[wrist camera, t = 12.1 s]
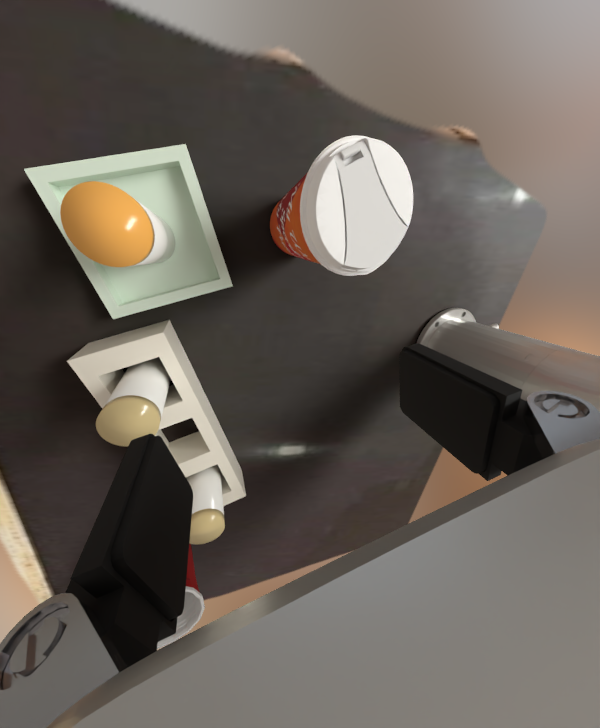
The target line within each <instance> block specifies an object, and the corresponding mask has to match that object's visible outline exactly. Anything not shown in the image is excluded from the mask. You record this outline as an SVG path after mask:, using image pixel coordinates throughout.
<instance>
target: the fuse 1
mask: <svg viewBox="0 0 600 728" xmlns="http://www.w3.org/2000/svg"><path fill="white" fill-rule="evenodd" d="M170 381H171V378H170V376H169V374H168V372H167V370H166V369H165V367H164V365H163V363H162V361H161V359H160V358H159V357H157V358H154V359H151V360H148V361H145V362H141V363H138V364H135V365H132V366H129V367H128V369H127V371H126V372H125V374H124V375H123V377H122V379H121V380H120V382H119V383H118V385H117V387H116V388H115V390H114V391H113V393H112V395H111V396H110V398H109V399H108V401H107V403H106V404H105V406H104V407H103V409H102V411H101V412H100V414H99V415H98V417H97V420H96V428H97V431H98V433H99V435H100V436H101V437H102V438H103V439H105V440H106V441H108V442H110V443H112V444H115V445H118V446H129V444H130V442H131V440H133V439H136V438H139V437H142V436H145V435H148V434H153V435H154V436H155V435H156V433H157V431H158V429H159V425H160V421H161V417H162V413H163V409H164V405H165V401H166V397H167V393H168V389H169V385H170Z"/></svg>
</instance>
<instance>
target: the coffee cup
mask: <svg viewBox="0 0 600 728" xmlns="http://www.w3.org/2000/svg"><path fill="white" fill-rule="evenodd" d="M412 209H413V188H412V182H411V178H410V174H409V172H408V169H407V166H406V165H405V163H404V161H403V159H402V158H401V156H400V155H399V154H398V153H397V151H395V150H394V149H393V148H392V147H391V146H390V145H388V144H386V143H385V142H383V141H380V140H377V139H373V138H369V137H365V136H355V135H354V136H348V137H344V138H342V139H339V140H337V141H335V142H333V143H332V144H330V145H329V146H328V147H326V148H325V149H324V150H323V151H322V152H321V153H320V154H319V155H318V157H317V158H316V160H315V161H314V162H313V164H312V166H311V168H310V170H309V171H308V172H307V173H306V175H305V176H304V177H303V178H302V179H301V180H300V181H299V182H298V183H297V184H296V185H295V186H294V187H293V188H292V189H291V190H290V191H289V192H288V193H287V194H286V195H285V196H284V197H283V198H282V199H281V200H280V201H279V202H278V203H277V205H276V206H275V208H274V209H273V212H272V214H271V218H270V231H271V235H272V238H273V240H274V242H275V244H276V245H277V246H278V247H279V248H280V249H281V250H282V251H284V252H285V253H287V254H290V255H292V256H295V257H299V258H302V259H305V260H308V261H312V262H315V263H319V264H321V265H323V266H324V267H325V268H327V269H328V270H330V271H332V272H334V273H337V274H340V275H347V276H353V275H366V274H368V273H370V272H372V271H374V270H375V269H377V268H378V267H379V266H381V265H382V264H383V263H384V262H385V261H386V260H387V259H388V258H389V257H390V255H391V254H392V253H393V252H394V251H395V249H396V248H397V247H398V245H399V244H400V242H401V240H402V239H403V237H404V235H405V233H406V231H407V229H408V227H409V224H410V220H411V216H412Z"/></svg>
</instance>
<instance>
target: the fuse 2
mask: <svg viewBox="0 0 600 728" xmlns="http://www.w3.org/2000/svg"><path fill="white" fill-rule="evenodd" d="M187 481H188V482H189V484H190V486H191V488H192V491H193V506H192V518H191V530H190V542H189V543H190V544H204V543H208V542H210V541H212V540H214V539H216V538H217V537H219V536H220V535H221V534H222V532H223V531H224V528H225V521H224V509H223V496H222V483H221V471H220V468H219V466H218V464H217V465H214V466H212V467H209V468H207V469H205V470H202V471H200V472H197V473H195V474H193V475H190V476H188V477H187Z"/></svg>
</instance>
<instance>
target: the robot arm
mask: <svg viewBox="0 0 600 728" xmlns="http://www.w3.org/2000/svg"><path fill="white" fill-rule="evenodd" d="M399 358H400V407H401V410H402V411H403V413H404V414H405V415H406V416H408V417H409V418H410V419H411V420H412V421H413V422H415V423H416V424H417V425H418V426H419V427H420V428H422V429H423V430H424V431H425V432H426V433H427V434H429V435H430V436H431V437H432V438H433V439H434V440H436V441H437V442H438V443H439V444H440V445H441V446H443V447H444V448H445V449H446V450H447V451H448V452H450V453H451V454H452V455H453V456H454V457H456V458H457V459H458V460H459V461H460V462H461V463H463V464H464V465H465V466H466V467H467V468H468V469H470V470H471V471H472V472H474V473H479V474H480V475H481V476H482V477H483V478H485V479H486V480H487V481H488V480H491V479H493V478H495V477H497V476H499V475H500V474H501V471H503V472H504V473H505V474H507V475H508V476H506V477H504V478H502V479H500V480H498V481H496V482H494V483H492V484H490V485H488V486H486V487H483V488H482V489H479V490H477V491H475V492H473V493H471V494H469V495H467V496H465V497H463V498H461V499H459V500H457V501H455V502H452V503H451V504H448V505H446V506H444V507H442V508H440V509H438V510H436V511H434V512H432V513H430V514H428V515H426V516H424V517H422V518H420V519H418V520H416V521H413V522H411V523H409V524H407V525H405V526H403V527H401V528H399V529H397V530H395V531H393V532H391V533H389V534H387V535H385V536H383V537H381V538H379V539H377V540H375V541H373V542H371V543H369V544H367V545H365V546H363V547H361V548H359V549H357V550H355V551H353V552H350V553H348V554H346V555H344V556H342V557H341V558H338V559H336V560H334V561H332V562H330V563H328V564H326V565H324V566H322V567H320V568H318V569H316V570H314V571H312V572H310V573H308V574H306V575H304V576H302V577H300V578H298V579H296V580H294V581H292V582H290V583H288V584H286V585H284V586H282V587H280V588H278V589H276V590H274V591H272V592H270V593H268V594H266V595H264V596H262V597H260V598H258V599H256V600H254V601H252V602H250V603H248V604H246V605H244V606H242V607H240V608H238V609H236V610H234V611H232V612H230V613H228V614H227V615H224V616H223V617H221V618H219V619H217V620H215V621H213V622H211V623H209V624H207V625H205V626H203V627H201V628H199V629H198V630H196V631H194V632H192V633H190V634H188V635H186V636H184V637H182V638H180V639H178V640H176V641H174V642H173V643H171V644H169V645H167V646H165V647H163V648H161V649H159V650H157V644H158V642H159V641H161V640H163V639H165V638H167V637H169V636H171V635H173V634H175V633H176V627H177V617H178V616H180V615H182V613H183V610H184V601H185V590H186V578H187V566H188V554H189V542H190V530H191V518H192V506H193V491H192V488H191V486H190V484H189V482H188V481H187V479H186V477H185V476H184V474H183V472H182V471H181V469H180V467H179V466H178V464H177V462H176V461H175V459H174V457H173V456H172V454H171V452H170V451H169V449H168V447H167V446H166V444H165V442H164V441H163V439H162V438H161V437H160V436H154V435H153V434H148V435H145V436H142V437H139V438H136V439H133V440H131V442H130V444H129V446H128V448H127V451H126V453H125V455H124V458H123V460H122V462H121V465H120V467H119V469H118V471H117V474H116V476H115V478H114V481H113V483H112V485H111V487H110V490H109V492H108V494H107V497H106V499H105V501H104V503H103V506H102V508H101V510H100V513H99V515H98V517H97V519H96V522H95V524H94V526H93V529H92V531H91V533H90V536H89V538H88V540H87V542H86V545H85V547H84V549H83V552H82V554H81V556H80V558H79V561H78V563H77V565H76V568H75V570H74V572H73V574H72V577H71V582H70V584H69V586H68V588H67V591H66V593H62V594H59V595H56V596H53V597H51V598H49V599H47V600H46V601H44V602H43V603H41V604H39V605H38V606H37V607H35V608H34V609H33V610H32V611H30V612H29V613H28V614H27V615H26V616H24V617H23V619H22V620H21V621H19V622H18V624H17V625H16V626H15V627H14V628H13V629H12V630H11V631H10V632H9V633H8V634H7V636H6V637H5V639H4V640H3V641H2V642H1V644H0V728H600V356H596V355H592V354H589V353H585V352H581V351H577V350H574V349H570V348H566V347H562V346H559V345H555V344H552V343H548V342H544V341H541V340H537V339H533V338H530V337H526V336H522V335H519V334H515V333H511V332H508V331H504V330H500V329H499V326H498V325H497V324H496V323H493V324H491V325H488V326H486V325H482V324H479V323H476V321H475V319H474V316H473V315H472V314H471V313H470V312H469V311H467V310H464V309H461V308H449V309H447V310H444V311H442V312H440V313H439V314H437V315H436V316H435V317H433V318H432V319H431V320H430V321H429V322H428V324H427V325H426V326H425V327H424V329H423V330H422V332H421V334H420V336H419V338H418V341H417V343H416V344H413V345H410V346H407V347H404V348H403V350H402V352H401V353H400V357H399Z"/></svg>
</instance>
